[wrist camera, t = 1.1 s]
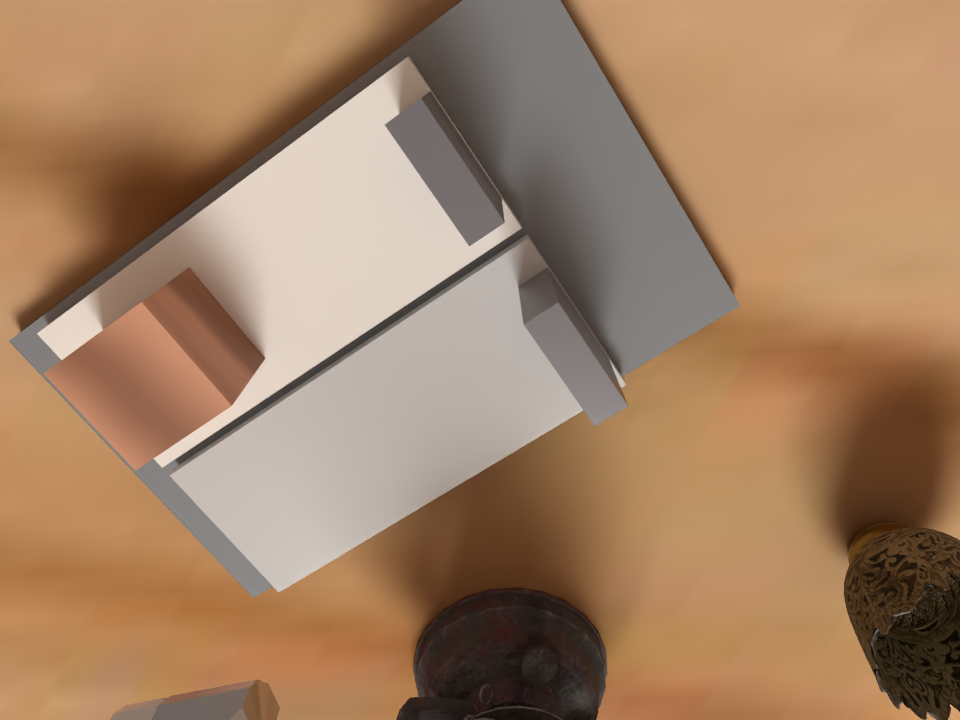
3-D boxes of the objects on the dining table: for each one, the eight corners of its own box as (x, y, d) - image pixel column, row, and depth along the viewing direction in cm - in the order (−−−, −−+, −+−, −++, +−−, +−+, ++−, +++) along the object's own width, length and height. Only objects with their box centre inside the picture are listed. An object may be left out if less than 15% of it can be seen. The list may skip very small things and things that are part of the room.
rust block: (189, 267, 33) (141, 302, 29) (265, 358, 35) (231, 405, 30) (102, 330, 34) (43, 373, 30) (180, 416, 36) (135, 470, 31)
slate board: (528, -48, 31) (530, -51, 30) (733, 299, 36) (740, 305, 35) (20, 333, 37) (8, 341, 36) (258, 586, 42) (253, 598, 41)
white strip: (409, 56, 31) (393, 57, 26) (520, 224, 33) (528, 257, 28) (46, 327, 35) (-34, 377, 30) (168, 459, 38) (115, 528, 32)
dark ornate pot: (830, 474, 39) (912, 573, 32) (974, 492, 40) (1088, 595, 32) (788, 597, 42) (855, 715, 34) (923, 613, 42) (1018, 733, 35)
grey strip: (527, 234, 34) (535, 269, 28) (623, 377, 36) (648, 435, 31) (175, 467, 38) (124, 536, 32) (282, 582, 40) (251, 665, 35)
